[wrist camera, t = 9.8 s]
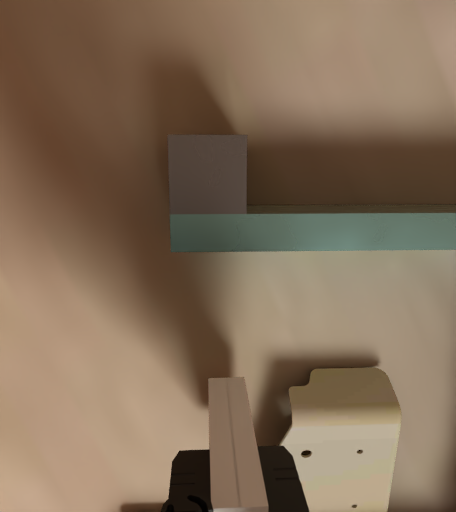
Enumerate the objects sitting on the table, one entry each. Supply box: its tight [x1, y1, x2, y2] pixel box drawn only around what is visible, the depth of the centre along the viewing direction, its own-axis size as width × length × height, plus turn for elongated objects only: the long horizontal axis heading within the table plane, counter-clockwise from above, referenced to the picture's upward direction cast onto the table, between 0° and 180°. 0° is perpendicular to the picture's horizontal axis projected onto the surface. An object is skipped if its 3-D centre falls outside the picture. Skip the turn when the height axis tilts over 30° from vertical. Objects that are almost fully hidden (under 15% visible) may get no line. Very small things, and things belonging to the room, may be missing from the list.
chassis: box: [168, 135, 456, 252], centre depth 17 cm, size 14×22×4 cm, turn 0°
